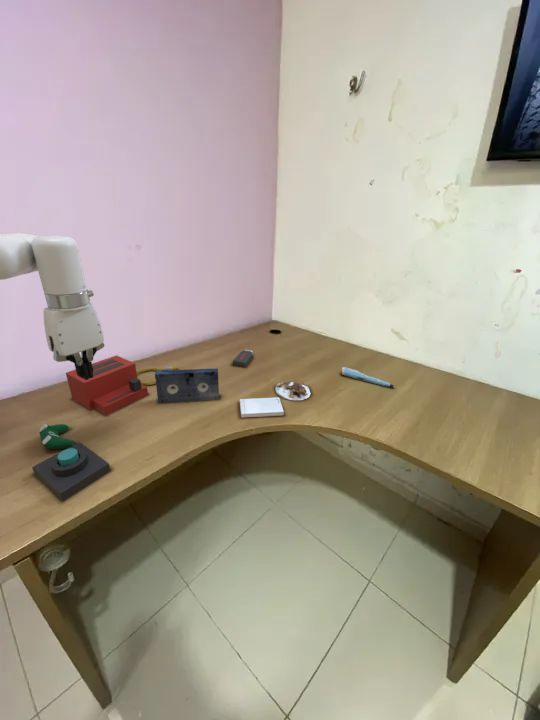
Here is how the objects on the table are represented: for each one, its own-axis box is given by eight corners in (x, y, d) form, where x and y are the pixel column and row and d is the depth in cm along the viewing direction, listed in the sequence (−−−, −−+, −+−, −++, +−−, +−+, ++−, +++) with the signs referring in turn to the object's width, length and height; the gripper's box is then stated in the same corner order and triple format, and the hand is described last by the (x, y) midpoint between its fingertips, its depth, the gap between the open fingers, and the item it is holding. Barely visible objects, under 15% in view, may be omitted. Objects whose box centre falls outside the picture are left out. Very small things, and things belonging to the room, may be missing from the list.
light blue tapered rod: (339, 375, 115) (340, 368, 114) (342, 372, 118) (343, 365, 117) (393, 390, 107) (395, 383, 106) (395, 386, 110) (396, 379, 108)
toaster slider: (130, 389, 95) (128, 380, 93) (136, 386, 96) (135, 377, 95) (134, 391, 93) (133, 383, 92) (141, 388, 95) (140, 380, 94)
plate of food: (318, 396, 101) (320, 386, 100) (287, 404, 96) (287, 393, 94) (300, 380, 110) (301, 371, 109) (270, 387, 105) (270, 377, 104)
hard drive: (279, 396, 97) (239, 398, 95) (284, 411, 90) (241, 413, 88) (278, 401, 98) (239, 402, 96) (283, 416, 90) (241, 418, 89)
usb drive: (232, 365, 119) (232, 359, 118) (242, 353, 130) (242, 347, 128) (245, 367, 118) (245, 361, 117) (254, 355, 128) (254, 349, 127)
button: (56, 461, 66) (54, 455, 65) (73, 452, 69) (71, 446, 68) (64, 469, 64) (62, 462, 63) (82, 459, 67) (80, 452, 66)
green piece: (59, 436, 81) (35, 430, 77) (69, 424, 81) (45, 417, 77) (66, 456, 75) (40, 450, 70) (76, 443, 75) (51, 436, 71)
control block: (34, 474, 67) (29, 460, 65) (81, 449, 75) (77, 435, 73) (62, 501, 61) (57, 486, 60) (110, 470, 69) (107, 457, 67)
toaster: (72, 399, 94) (65, 372, 90) (120, 379, 106) (116, 354, 102) (102, 417, 86) (96, 389, 82) (151, 393, 98) (147, 368, 95)
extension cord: (174, 386, 103) (173, 381, 102) (125, 386, 102) (124, 381, 101) (181, 369, 114) (180, 364, 113) (137, 369, 113) (136, 364, 112)
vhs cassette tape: (219, 395, 99) (218, 367, 95) (219, 400, 97) (218, 372, 92) (159, 398, 96) (155, 369, 92) (157, 403, 94) (154, 374, 90)
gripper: (92, 291, 72) (106, 362, 80) (18, 303, 60) (43, 385, 68) (112, 296, 69) (125, 369, 76) (37, 310, 57) (61, 395, 65)
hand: (86, 377), depth 72 cm, fingers closed
